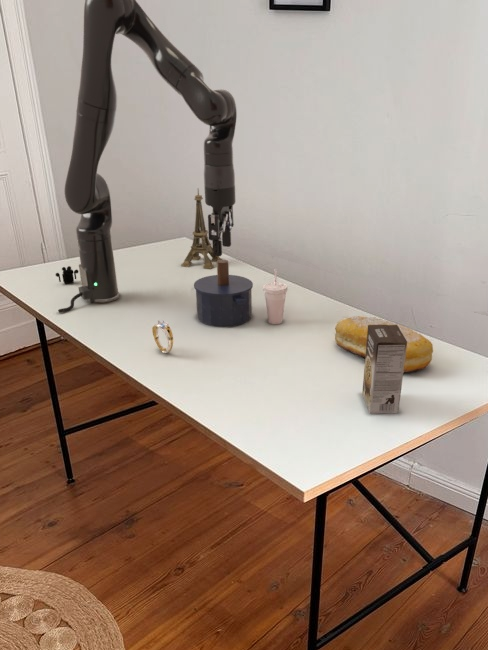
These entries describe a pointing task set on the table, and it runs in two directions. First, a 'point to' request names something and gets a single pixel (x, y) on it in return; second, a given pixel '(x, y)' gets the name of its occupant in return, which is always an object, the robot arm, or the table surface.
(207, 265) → the eiffel tower
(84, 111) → the robot arm
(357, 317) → the bread
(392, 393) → the coffee box
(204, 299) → the pot
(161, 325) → the ring
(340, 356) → the table surface
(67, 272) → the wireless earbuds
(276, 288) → the smoothie
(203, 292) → the lid
